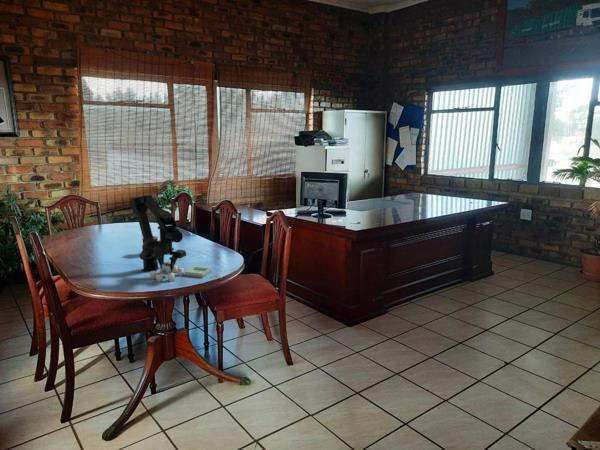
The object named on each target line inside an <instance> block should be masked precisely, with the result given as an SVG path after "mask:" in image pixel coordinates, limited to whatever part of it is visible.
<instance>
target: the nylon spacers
mask: <svg viewBox="0 0 600 450" xmlns="http://www.w3.org/2000/svg"><path fill="white" fill-rule="evenodd" d="M164 274H166V273H163V272H162V269H161V267H160V266H159V272H158V273H157V270H155V271H149V278H150V280H155V282H156V283H161V282H163V280H164V279H163V275H164ZM175 274H177V276H179V277H182V276H185V271H184V267H178V264H175V265H174V267H173V270H172V272H169V273H167V282H175Z"/></svg>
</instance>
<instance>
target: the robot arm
mask: <svg viewBox="0 0 600 450" xmlns="http://www.w3.org/2000/svg"><path fill="white" fill-rule="evenodd" d="M129 206H130V208H131V211H132V212H133V213H134V214H135V215H136V216H137V220H138V223H139V224H138V225H139V228H140V231H141V235H142V238H143V239H144V243H143V242H142V246H141V248H142V251H141V252H140V253H139V258H140V260H142V264H143V267H142V269H141V271H142V272H143V271H144V272H150V271H157V270H158V269H159V270H160V267H161V269H162V263H164V261H165V255H167V256H168V255H170V256H171V257H169V258H168V259H169V260H170V262H171V270H173V267H174V265H176V262H177V260H178V259H183V258H184V257H186V256H187V251H186V250H184V249H176V250H175V251H174V249H175V248H174V247H173V243H175V244H177V243H181V241H182V240H183V236H184V234H183V232H182V231H180V228H179V227H178V223H177V221H176V219H175V217H174V215H173V213H171V212H170V211H168V210H164V209H163V207H161V206H160V205H159V203H158V202H157V201H156V200H155V199H154V198H153V195H150V194H146V195H141V196H136V197H134V196H133V197H131V199H130V200H129ZM148 210H149V211H150V212H151V214H153V215H154V217H155V219H154V220H155V221H156V224H157V225H158V227H157V230H159V240H160V241H159V240H157V241H156V240H155V239H154V238H153V236H154V235H153V231H152V227H151V224H150V219H149V217H148V213H147V212H148ZM158 241H159V242H158Z"/></svg>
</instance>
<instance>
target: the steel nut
mask: <svg viewBox="0 0 600 450" xmlns="http://www.w3.org/2000/svg"><path fill="white" fill-rule="evenodd" d="M162 272H163V273H165V274H168V273H171V272H172V270H171V261H167V262H164V263H162Z"/></svg>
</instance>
